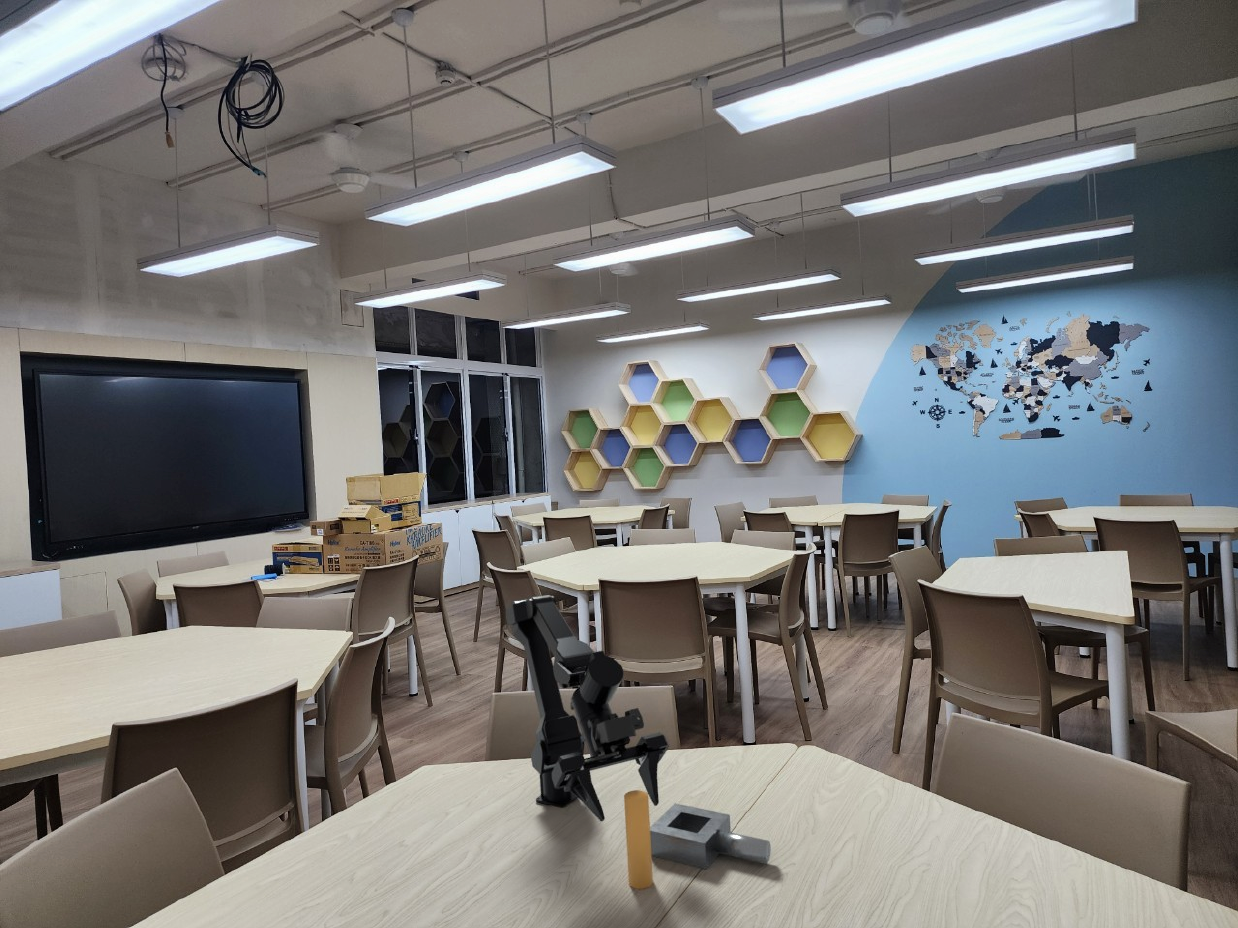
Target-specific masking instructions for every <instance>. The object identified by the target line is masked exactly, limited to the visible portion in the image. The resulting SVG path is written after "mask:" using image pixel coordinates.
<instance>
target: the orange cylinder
mask: <svg viewBox="0 0 1238 928" xmlns="http://www.w3.org/2000/svg"><path fill="white" fill-rule="evenodd" d="M623 801H624V816H625V821H624V822H625V839H626V854H627V855H626V856H627V872H628V874H627V875H628V877H627V878H628V885H629V887H631V888H633V889H636V890H643V889H647V888H649V887H651V886H652V885H653V884H654V879H653V875H654V874H653V860H652V858H653V856H651V837H650V827H651V824H650V823H651V821H650V820H651V819H650V804H649V802H650V801H649V795H648V792H646V791H644V790H641V789H640V790H637V789H636V790H630V791H627V792H626V793H625V794H624V795H623Z"/></svg>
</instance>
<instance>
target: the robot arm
mask: <svg viewBox="0 0 1238 928" xmlns="http://www.w3.org/2000/svg"><path fill="white" fill-rule="evenodd" d="M557 606H558V605H557V601H556V598H555V596H553V595H550V594H545V595H539V596H531V597H530V598H527V599H520V600H519V599H518V600H513V601H511V603H510V605H509V606H508V607H507V608H506V610H505V617H506V622H507V624H508V626H510V630H511V632H512V633H511V634H512V635H513V636H512V637H514V638H515V639H516V640H517V641H518V642H519V643H520V644H521V645H522V646H523V649H524V653H525V657H526V660H527V665H528V670H529V674H530V678H531V683H532V687H533V688H532V689H533V691H534V692H533V693H534V695H535V700H536V705H537V708H538V709H537V710H538V714H539V717H540V719H539V722H538V726H537V728H536V732H535V739H536V741H535V745H534V747H533V749H532V752H531V753H530V759H531V760H530V761H531V767H532V768H533V769H534V770H535V771H536V772H537V773H538V774H539V787H540V788H539V789H540V795H539V796H537V797H536V798H535V802H536V803H539V804H545V805H549V806H553V807H558V808H566V807H567V806H568V805H570V804H571V803H573V802H574V801H575V800H577V799H578V800H580V801H581V802H582V803H583V804H584V805H585V806H586V807H587V809H589V810H590V812H592V814H593V815H594V816H595V817H596V818H597V819H598V820H599V821H600V822H604V821H605V819H606V817H605V814H604V810H603V807H602V804H601V802H600V800H599V799H600V798H599V797H598V794H597V791H596V789H595V786H594V784H593V782H592V776H591V771H595V770H600V769H602V768H607V767H611V766H615V765H618V764H622V763H627V762H630V761H634V760H635V763H636V764H638V765H639V767H638V769H637V771H638V773H639V776H640V778H641V780H642V783H643V785H644V787H645V789H646V791H647V792H646V793H648V798H649V799H650V801H651V802H652V804H653V805H654V807H656V806H658V805H659V803H660V799H659V785H658V784H659V783H658V766H659V765H658V764H659V763H660V762H661V760H662V759H663V757H664V756H665V754H666V752H667V751H668V749H669V748H670V744H669V741H668V739H667V737H666V735H664V734H663V733H661V732H656V733H652V734H651V733H650V734H648V735H647V734H646V735H643V736H641V737H640V739H639V740H638V742H637V744H636V745H634V746H631V747H626V746H627V745H629V744H630V742H631V738H632V737H636V736H637V732H636V731H639V730H641V729H644V726H645V723H644V717H643V716H642V714H641V711H640V709H639V707H637V708H633V709H628V710H626V711H625V712H624V716H620V717H619V715H618V714H617V713H613V711H612V709H611V706H610V704H609V703H610V702H611V701H612V700H613V698H614V696H615V694H616V692H617V691H618V688H619V686H620V684H621V682H622V680H623V678H624V669H623V666H622V665H621V664H620V663H619V662H618V661H617V660H616V659H615V658H613V657H611V656H607V655H606V654H605V652H604V650H597V651H594V650H593V649H592V647H591V646H590V645H589V644H588V643H586V642H584V641H582V640H579V639H577V638H576V636H575V635H574V633H573V631H572V629H571V628H570V626H569V625H568V623H567V622H566V620H565V618H564V615H562V613H561V612H560V610H559V608H558V607H557ZM551 653H552V655H553V657H554V659H553V660H552V656H551ZM559 686H560V687H561V688H563V689H570V688H575V687H577V688H576V689H575V691H574V692H573V694H572V696H571V698H570V705H569V706H570V710H571V711H574V714H575V715H574V714H569V713H568V712H567V711H566V710H565V707H564V704H563V699H562V696H561V691H560V687H559ZM575 716H576V717H575ZM579 727H580V729H579ZM580 731H581V732H582V733H581V732H580ZM585 744H586V747H587V750H588V753H589V755H590V756H589V757H585V756H584V752H585Z"/></svg>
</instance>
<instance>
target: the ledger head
mask: <svg viewBox="0 0 1238 928" xmlns="http://www.w3.org/2000/svg"><path fill="white" fill-rule="evenodd" d="M731 829H732V828H731V814H729V813H723V812H719V811H713V810H708V809H704V808H700V807H696V806H690V805H689V806H688V805H685V804H680V803H676V802H675V803H673V805H671V807H669V809H668V810H666V811H665V813H663V814H662V815H661V816H660V817H659V818H658V819H657V820H656V821H655V822H654V823H653V824H652V825H650V837H651V856H652V857H656V858H660V859H664V860H667V861H671V862H676V863H679V864H683V865H688V866H692V867H696V868H699V869H703V870H708V869H709V867H710V866H711V864H712V863H713V862H714V861H715V859H716V858H717V857H718V856H719V855H720V854H722V855H723V854H724V855H728V856H731V857H736V858H740V859H745V860H748V861H752V862H758V863H762V864H764V865H765V864H766V865H767V864H768V862H770V858H771V849H772V847H771V846H772V845H771V841H769V840H766V839H762V838H757V837H753V836H748V835H744V834H739V833H734V832H731V831H732V830H731Z"/></svg>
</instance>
